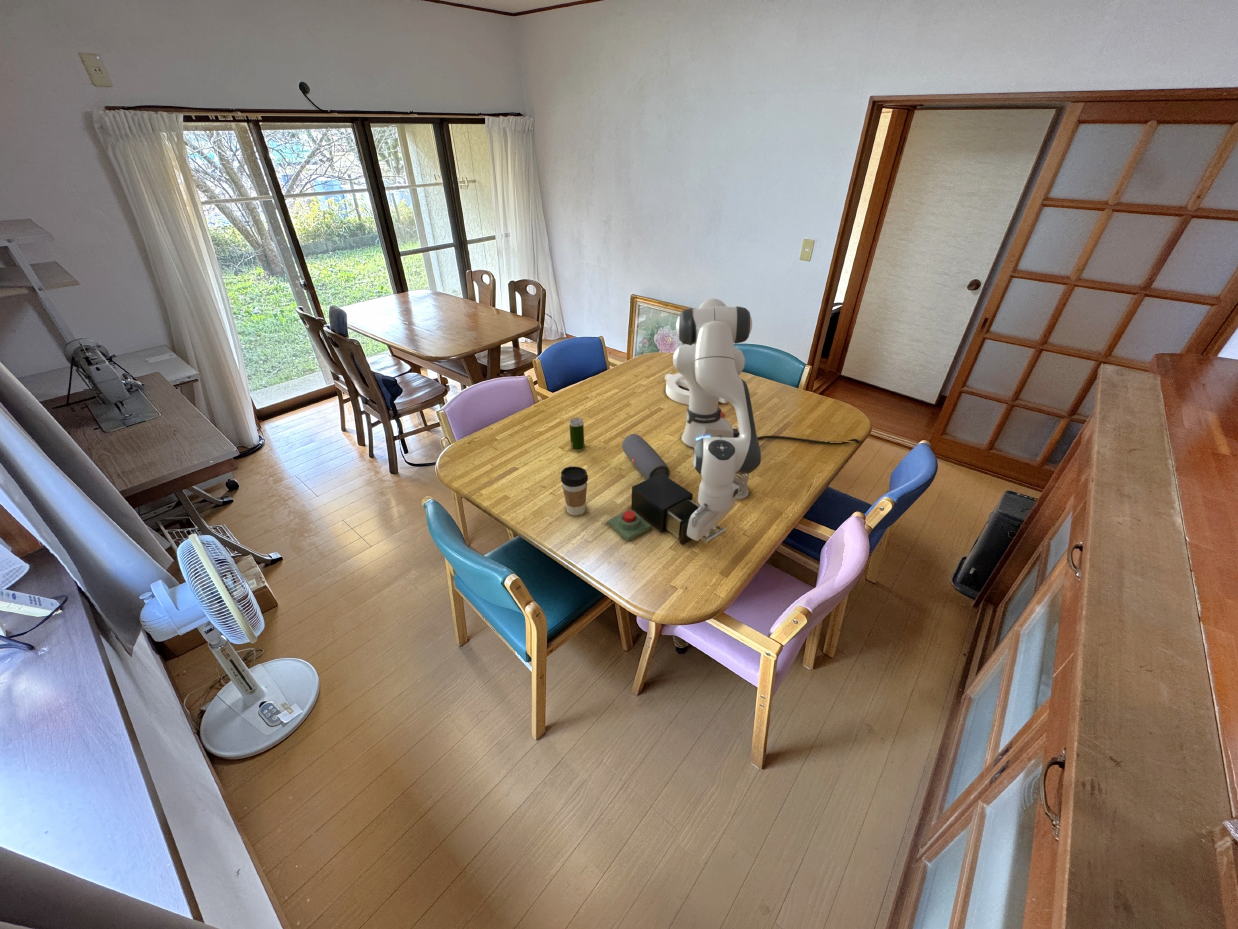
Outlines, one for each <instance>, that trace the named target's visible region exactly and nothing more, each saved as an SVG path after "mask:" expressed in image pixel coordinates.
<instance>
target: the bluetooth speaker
mask: <svg viewBox="0 0 1238 929" xmlns="http://www.w3.org/2000/svg"><path fill="white" fill-rule="evenodd" d="M621 448H622V451H623V453H624V454H625V456H626V457H627V458H628V460H629V461H630V463H631V464H632V465H633V466H634V468H635V469H636V470H637V471H638V473H639V474H641V476H642V477H643V478H644V479H645V480H647V479H649V478H651V477H654V476H656V475H658V474H660V473H662V474H664V475H665V476H667V477H668V478H670V475H671V471H670V468H669V466H668V465H667V463H666V462H665V461H664V460H663V458H662V457H661V456H660V455H659V454H658V452H657V451H656V450H655V449H654V448H653V447H652V446H651V445H650V444H649V442H647V441H646V440H645V439H644V438H643V437H642V436H641V435H639V434H637V433H632V434H629V435H627V436H626V437H625V438H624V439H623V441H622V443H621Z"/></svg>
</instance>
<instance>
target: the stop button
mask: <svg viewBox="0 0 1238 929" xmlns="http://www.w3.org/2000/svg"><path fill="white" fill-rule="evenodd" d="M632 511H633V510H632ZM632 511H628V510H626V512H625V511H623V512H624V514H623V519H624V521H625V522H633V521H634V520H635V513H636V512H635V511H633V512H632ZM634 512H635V513H634Z"/></svg>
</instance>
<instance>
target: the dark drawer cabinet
mask: <svg viewBox="0 0 1238 929" xmlns="http://www.w3.org/2000/svg"><path fill="white" fill-rule="evenodd" d="M688 498H690V499H691V500H692V501H693V498H694V493H692V492H691V491H689V490H688V489H687V488H685V487H684V486H682V485H680V484H679V483H677V482H676V481H674V480H673V479H671V478H670V477H669V478H668V477H667V476H665V475H664V474H662V473H660V474H658V475H656V476H654V477H651V478H649V479H647V480H646V479H645V480H643V481H641V482H639V483H637V484H634V485H632V486H631V504H630V507H631V508H630V509H631V510H632V511H633V512H635V513H637V514H638V515H639V517H641V518H642V519H643V520H644V521H646V522H647V523H648V524H649V525H651V526H652V527H654V528H655V529H656V530H657V531H658V532H660V533H661V534H662V533H663V532H665V531H667V530H666V529H665V528H664V527H663V525H664V512H665V510H667V509H669V508H671V507H673V506H675V505H677V504H679V503H681V502H683V501H684V500H686V499H688Z"/></svg>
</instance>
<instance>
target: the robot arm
mask: <svg viewBox="0 0 1238 929" xmlns="http://www.w3.org/2000/svg"><path fill="white" fill-rule="evenodd" d="M752 329H753V319H752V315H751V311H750V310H748V309H747V308H746V307H742V306H737V305H736V306H727V304H726V303H725V302H724V301H722V300H721V299H718V298H708V299H706V300H704V301H703V302H701V303H700V305H699V307H698V308H693V307H690V308H686V309H683V310H681V311H680V313H679V315H678V317H677V320H676V323H675V332H676V335H677V337H678V340H679V341H680V342H681V345H679V346H678V347H677V348H676V349H675V350H674V352H673V356H672V364H673V367H674V368H675V370H676V371H677V373H681V374H682V375H683V377H684V378H685V379H686V381H687V383H688V386H689V389H688V391H689V405H687V407H686V408H687V409H686V415H685V418H686V423H685V427H684V429H683V433H682V435H681V441H682V443H683V444H684V445H686V446H688V447H690V448H693V453H692V454H693V455H692V467H693V468H694V470H696V472H697V473H698V474H699V475H701V479H700V483H699V486H698V495H697V502H698V505H700V506H701V507H699V508H698V509H697V510H696V511H695V512H694V513H693V514H692V515H691V517H690V520H689V524H688V528H687V536H688V537H690V538H691V539H693V540H692V541H695V542H699V541H700V540H702V539H701V538H702V537H707V536H709V535H711V534H712V533H714V532H716V529H717V528H716V526H717V525H718V523H719V522H720V521H721V520H722V519H723V518H725V516H726V515H727V514H728V513H730V511H732V510H733V508H734V507H735V505H736V501H737V499H736V498H737V493H738V492H739V489H740V487H739V486H737V485H735V484H733V483H732V482H733V480H734V478H735V475H736V474H735V472H737V473H745V475H747V474H749V475H750V474H751V473H753V472H754V471H755V470H756V469H758V467H760V465H761V462H762V451H761V446H760V442H759V440H762V439H783V440H792V441H799V442H806V443H814V444H823V445H824V444H825V445H845V444H849V443H850V442H844V441H841V442H842V443H830V442H831V441H827V442H825V441H824V440H815V439H807V438H799V437H794V436H793V437H792V436H786V435H785V436H784V435H761V436H758V435H757V434H758V433H757V430H756V423H755V417H754V410H753V406H752V400H751V394H750V391H749V387H748V384H747V382H746V381H745V380H744V379H742V378H741V377H740V374H742V372H743V371H744V368H745V366H746V358H745V355H744V353H743V351H742V350H740V349H739V348H737V347H735V345H736V344H741V343H744V342H746V341H747V340H748V339H749V337H750V335H751V333H752ZM719 397H720V398H723V399H725V400H727V401H728V402H727V403H730V404H731V405H732V406H733V408H734V410H735V414H736V420H737V426H738V428H736V427H735V428H733V425H732V424H731V423H730V422H729V420H728V419H726V416H727V414H726V413H725V411H723V410H722V409H721V407H719V402H718V401H719ZM847 441H852V442H856V443H858V444H859V443H860V441H859V439H857V438H851V439H847Z"/></svg>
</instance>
